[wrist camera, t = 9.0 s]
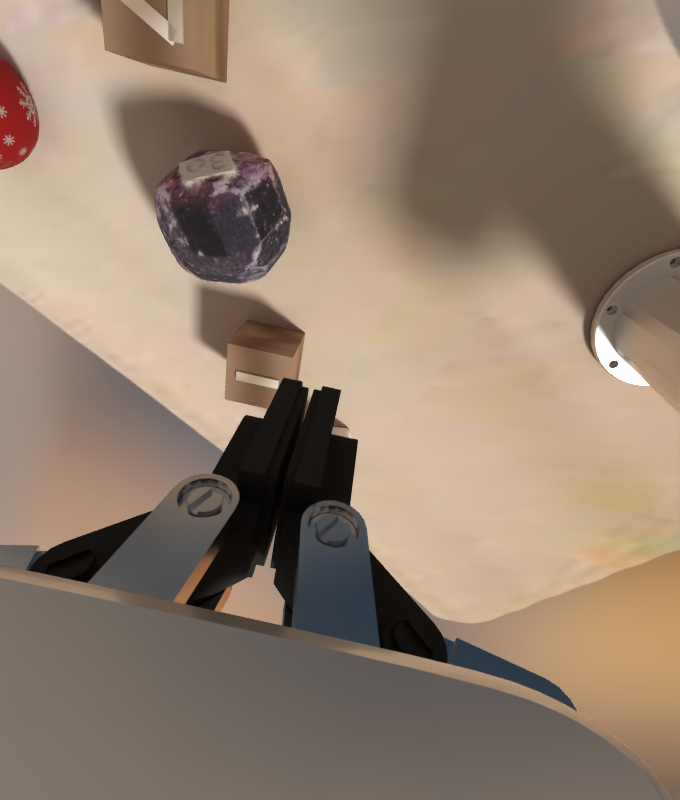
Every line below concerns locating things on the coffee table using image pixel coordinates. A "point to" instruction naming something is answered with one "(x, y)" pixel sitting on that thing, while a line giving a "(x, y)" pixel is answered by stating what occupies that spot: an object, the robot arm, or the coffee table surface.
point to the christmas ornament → (16, 118)
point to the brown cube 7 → (170, 34)
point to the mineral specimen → (224, 215)
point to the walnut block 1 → (261, 362)
